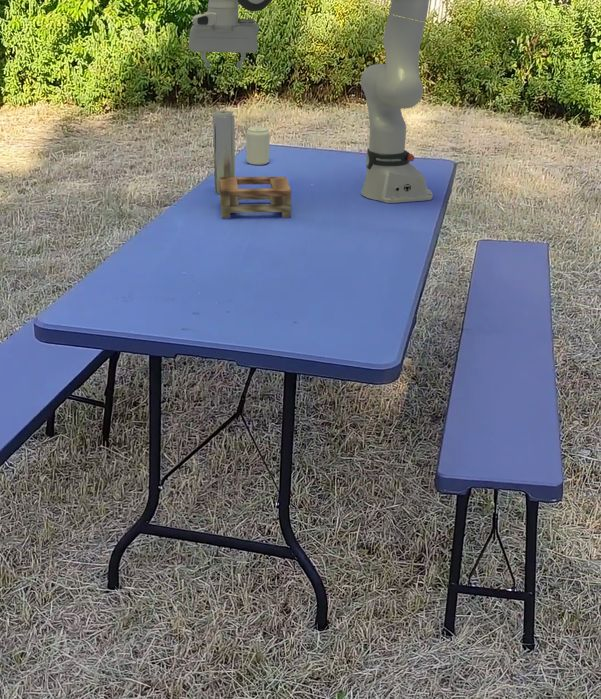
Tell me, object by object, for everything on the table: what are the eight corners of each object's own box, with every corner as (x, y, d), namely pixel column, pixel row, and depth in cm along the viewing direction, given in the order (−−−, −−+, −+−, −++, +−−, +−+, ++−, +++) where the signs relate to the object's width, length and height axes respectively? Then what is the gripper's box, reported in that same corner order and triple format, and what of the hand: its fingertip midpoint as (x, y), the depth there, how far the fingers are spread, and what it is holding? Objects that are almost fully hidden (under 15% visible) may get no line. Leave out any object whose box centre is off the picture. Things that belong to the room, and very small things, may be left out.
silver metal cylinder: (234, 195, 267) (233, 114, 256) (213, 194, 267) (211, 113, 256) (236, 189, 273) (235, 109, 261) (216, 189, 273) (214, 109, 262)
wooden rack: (285, 202, 262) (285, 176, 258) (290, 217, 248) (291, 190, 245) (220, 203, 259) (219, 177, 256) (221, 218, 246) (221, 191, 243)
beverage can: (244, 164, 300) (244, 130, 295) (249, 159, 307) (249, 125, 302) (266, 166, 299) (266, 131, 294) (271, 160, 306) (271, 127, 301)
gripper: (258, 18, 251) (257, 67, 257) (188, 16, 248) (189, 65, 255) (259, 20, 245) (259, 70, 251) (187, 18, 243) (189, 69, 249)
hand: (223, 68), depth 253 cm, fingers open, 8 cm apart
